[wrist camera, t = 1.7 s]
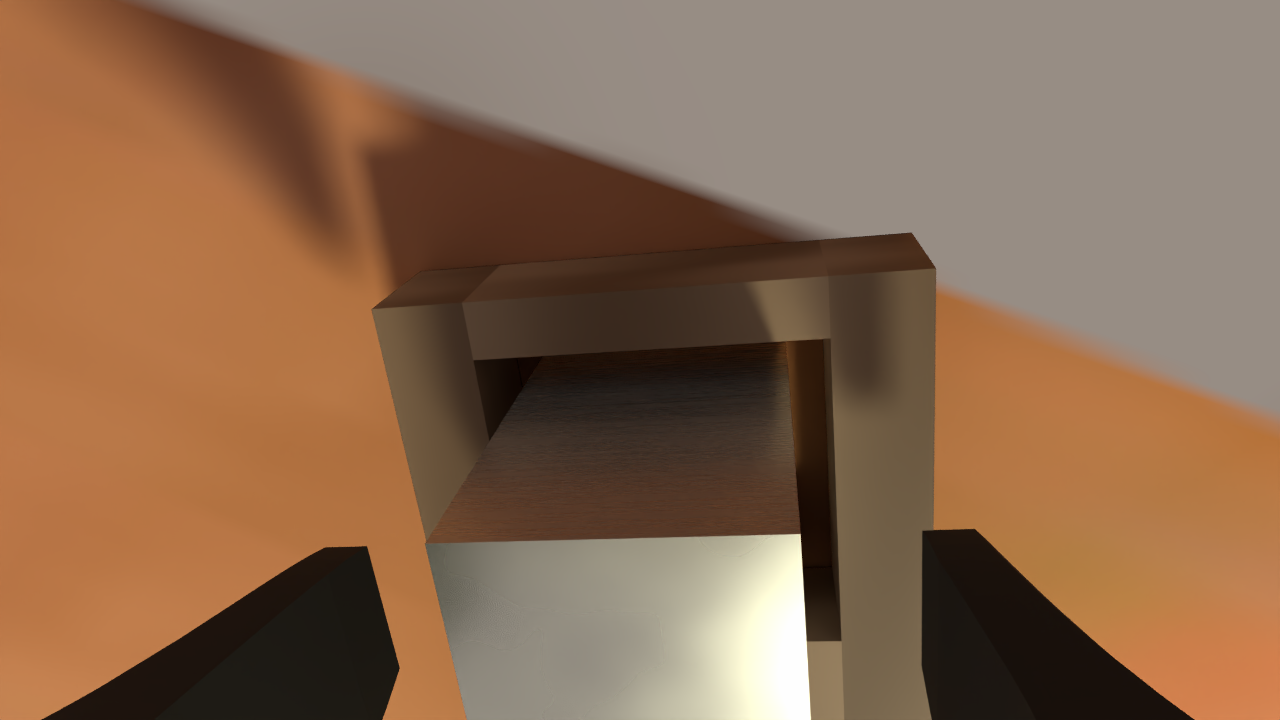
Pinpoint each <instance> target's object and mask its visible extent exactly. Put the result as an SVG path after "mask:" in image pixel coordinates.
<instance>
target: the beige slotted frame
mask: <svg viewBox="0 0 1280 720" xmlns="http://www.w3.org/2000/svg"><path fill="white" fill-rule="evenodd" d="M372 314H373V318H374V322H375V326H376V330H377V335H378V339H379V343H380V347H381V352H382V356H383V360H384V364H385V368H386V373H387V377H388V381H389V385H390V389H391V394H392V398H393V402H394V406H395V411H396V415H397V419H398V423H399V427H400V432H401V436H402V440H403V444H404V448H405V453H406V457H407V461H408V465H409V470H410V474H411V478H412V482H413V486H414V491H415V495H416V499H417V503H418V507H419V512H420V516H421V520H422V524H423V528H424V533H425V537H426V541H427V540H428V538H429V536H430V535H431V533H432V532H433V530H434V529H435V527H436V525H437V524H438V522H439V521H440V519H441V517H442V516H443V514H444V513H445V511H446V509H447V508H448V506H449V505H450V503H451V502H452V500H453V498H454V497H455V495H456V494H457V492H458V490H459V489H460V487H461V486H462V484H463V482H464V481H465V479H466V478H467V476H468V475H469V473H470V471H471V470H472V468H473V467H474V465H475V463H476V462H477V460H478V459H479V457H480V455H481V454H482V452H483V451H484V449H485V448H486V446H487V444H488V443H489V441H490V440H491V438H492V436H493V435H494V433H495V432H496V430H497V428H498V427H499V425H500V424H501V422H502V421H503V419H504V417H505V416H506V414H507V413H508V411H509V409H510V408H511V406H512V405H513V403H514V401H515V400H516V398H517V397H518V395H519V393H520V392H521V390H522V386H521V380H520V375H519V369H518V364H517V358H518V357H535V356H551V355H568V354H584V353H600V352H617V351H633V350H650V349H666V348H682V347H699V346H715V345H732V344H748V343H764V342H781V341H797V340H813V339H823V354H824V380H825V405H826V430H827V456H828V481H829V506H830V531H831V557H832V567H830V568H802V570H803V588H804V607H805V625H806V643H807V662H808V680H809V698H810V717H811V720H931V714H930V709H929V703H928V698H927V693H926V687H925V682H924V677H923V671H922V666H921V660H922V531H925V530H933V513H934V417H935V322H936V268H935V266H934V265H933V263H932V262H931V260H930V259H929V257H928V256H927V255H926V253H925V252H924V250H923V249H922V247H921V246H920V244H919V243H918V241H917V240H916V238H915V237H914V235H913V234H912V233H901V234H888V235H876V236H863V237H850V238H838V239H825V240H812V241H800V242H787V243H774V244H762V245H749V246H736V247H724V248H711V249H699V250H686V251H673V252H661V253H648V254H635V255H623V256H610V257H597V258H585V259H572V260H559V261H547V262H534V263H521V264H509V265H496V266H483V267H471V268H458V269H445V270H433V271H420V272H419V273H418V274H416V275H415V276H414V277H413V278H411V279H410V280H409V281H407V282H406V283H405V284H404V285H402V286H401V287H400V288H398V289H397V290H396V291H394V292H393V293H392V294H391V295H389V296H388V297H387V298H385V299H384V300H383V301H381V302H380V303H379V304H378V305H376V306H375V307H374V308H372Z"/></svg>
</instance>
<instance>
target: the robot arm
mask: <svg viewBox="0 0 1280 720" xmlns="http://www.w3.org/2000/svg"><path fill="white" fill-rule="evenodd" d="M921 666H922V671H923V677H924V682H925V687H926V693H927V698H928V703H929V709H930V714H931V719H932V720H1194V719H1193V718H1191V717H1190V716H1189V715H1187V714H1186V713H1185V712H1183V711H1182V710H1180V709H1179V708H1178V707H1176V706H1175V705H1174V704H1172V703H1171V702H1170V701H1168V700H1167V699H1165V698H1164V697H1163V696H1161V695H1160V694H1159V693H1158V692H1156V691H1155V690H1154V689H1153V688H1151V687H1150V686H1149V685H1147V684H1146V683H1145V682H1144V681H1142V680H1141V679H1140V678H1139V677H1137V676H1136V675H1135V674H1134V673H1132V672H1131V671H1130V670H1128V669H1127V668H1126V667H1125V666H1123V665H1122V664H1121V663H1120V662H1118V661H1117V660H1116V659H1115V658H1113V657H1112V656H1111V655H1110V654H1109V653H1107V652H1106V651H1105V650H1104V649H1103V648H1102V647H1100V646H1099V645H1098V644H1097V643H1096V642H1095V641H1094V640H1092V639H1091V638H1090V637H1089V636H1088V635H1087V634H1086V633H1085V632H1083V631H1082V630H1081V629H1080V628H1079V627H1078V626H1077V625H1076V624H1074V623H1073V622H1072V621H1071V620H1070V619H1069V618H1068V617H1067V616H1065V615H1064V614H1063V613H1062V612H1061V611H1060V610H1059V609H1058V608H1057V607H1055V606H1054V605H1053V604H1052V603H1051V602H1050V601H1049V600H1048V599H1047V598H1046V597H1045V596H1044V595H1043V594H1042V593H1041V592H1039V591H1038V590H1037V589H1036V588H1035V587H1034V586H1033V585H1032V584H1031V583H1030V582H1029V581H1028V580H1027V579H1026V578H1025V577H1024V576H1023V575H1022V574H1021V573H1020V572H1019V571H1018V570H1017V569H1016V568H1015V567H1014V566H1013V565H1012V564H1011V563H1010V562H1009V561H1008V560H1006V559H1005V558H1004V557H1003V556H1002V555H1001V554H1000V553H999V552H998V551H997V550H996V549H995V548H994V547H993V546H992V545H991V544H990V543H989V542H988V541H987V540H986V539H985V538H984V537H983V536H982V535H981V534H980V533H979V532H977V531H976V530H975V529H960V530H925V531H922V660H921ZM399 669H400V668H399V664H398V660H397V657H396V653H395V649H394V645H393V642H392V638H391V634H390V631H389V627H388V623H387V619H386V616H385V612H384V608H383V604H382V601H381V597H380V593H379V590H378V586H377V582H376V578H375V575H374V571H373V567H372V563H371V560H370V556H369V552H368V549H367V546H362V547H327V548H323V549H321V550H319V551H318V552H316V553H314V554H312V555H310V556H308V557H306V558H305V559H303V560H301V561H300V562H298V563H296V564H295V565H293V566H291V567H290V568H288V569H286V570H285V571H283V572H282V573H280V574H279V575H277V576H275V577H274V578H272V579H271V580H269V581H268V582H266V583H265V584H263V585H261V586H260V587H258V588H257V589H255V590H254V591H252V592H251V593H249V594H248V595H246V596H245V597H243V598H242V599H240V600H238V601H237V602H235V603H234V604H232V605H231V606H229V607H228V608H226V609H225V610H223V611H222V612H220V613H219V614H217V615H215V616H214V617H212V618H211V619H209V620H208V621H206V622H205V623H203V624H202V625H200V626H199V627H197V628H195V629H194V630H192V631H191V632H189V633H188V634H186V635H185V636H183V637H182V638H180V639H178V640H177V641H175V642H173V643H172V644H170V645H169V646H167V647H165V648H164V649H162V650H160V651H159V652H157V653H155V654H154V655H152V656H151V657H149V658H147V659H146V660H144V661H142V662H141V663H139V664H137V665H136V666H134V667H133V668H131V669H129V670H128V671H126V672H124V673H123V674H121V675H119V676H118V677H116V678H115V679H113V680H111V681H110V682H108V683H106V684H105V685H103V686H101V687H100V688H98V689H96V690H94V691H93V692H91V693H89V694H87V695H86V696H84V697H82V698H80V699H79V700H77V701H75V702H73V703H71V704H70V705H68V706H66V707H64V708H62V709H61V710H59V711H57V712H55V713H53V714H51V715H49V716H48V717H46V718H44V719H42V720H382V719H383V716H384V713H385V711H386V708H387V705H388V702H389V699H390V696H391V693H392V690H393V687H394V684H395V681H396V678H397V675H398V672H399Z"/></svg>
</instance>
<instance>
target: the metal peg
mask: <svg viewBox="0 0 1280 720" xmlns="http://www.w3.org/2000/svg"><path fill="white" fill-rule="evenodd" d="M425 546H426V550H427V554H428V558H429V562H430V567H431V571H432V575H433V579H434V583H435V588H436V592H437V596H438V600H439V604H440V609H441V613H442V617H443V621H444V625H445V630H446V634H447V638H448V642H449V646H450V651H451V655H452V659H453V663H454V667H455V672H456V676H457V680H458V684H459V688H460V693H461V697H462V701H463V705H464V709H465V714H466V718H467V720H811V717H810V698H809V680H808V662H807V643H806V625H805V607H804V588H803V570H802V551H801V533H800V520H799V507H798V494H797V481H796V468H795V455H794V442H793V428H792V415H791V402H790V389H789V376H788V363H787V350H786V341H781V342H764V343H748V344H732V345H715V346H699V347H682V348H666V349H650V350H633V351H617V352H600V353H584V354H568V355H551V356H543V357H542V359H541V360H540V362H539V363H538V365H537V366H536V368H535V370H534V371H533V373H532V374H531V376H530V378H529V379H528V381H527V382H526V384H525V386H524V387H523V389H522V390H521V392H520V393H519V395H518V397H517V398H516V400H515V401H514V403H513V405H512V406H511V408H510V409H509V411H508V413H507V414H506V416H505V417H504V419H503V421H502V422H501V424H500V425H499V427H498V428H497V430H496V432H495V433H494V435H493V436H492V438H491V440H490V441H489V443H488V444H487V446H486V448H485V449H484V451H483V452H482V454H481V455H480V457H479V459H478V460H477V462H476V463H475V465H474V467H473V468H472V470H471V471H470V473H469V475H468V476H467V478H466V479H465V481H464V482H463V484H462V486H461V487H460V489H459V490H458V492H457V494H456V495H455V497H454V498H453V500H452V502H451V503H450V505H449V506H448V508H447V509H446V511H445V513H444V514H443V516H442V517H441V519H440V521H439V522H438V524H437V525H436V527H435V529H434V530H433V532H432V533H431V535H430V536H429V538H428V540H427V541H426V543H425Z"/></svg>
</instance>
